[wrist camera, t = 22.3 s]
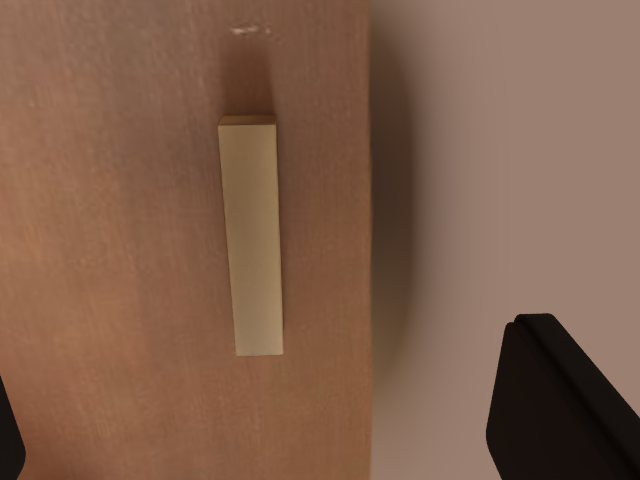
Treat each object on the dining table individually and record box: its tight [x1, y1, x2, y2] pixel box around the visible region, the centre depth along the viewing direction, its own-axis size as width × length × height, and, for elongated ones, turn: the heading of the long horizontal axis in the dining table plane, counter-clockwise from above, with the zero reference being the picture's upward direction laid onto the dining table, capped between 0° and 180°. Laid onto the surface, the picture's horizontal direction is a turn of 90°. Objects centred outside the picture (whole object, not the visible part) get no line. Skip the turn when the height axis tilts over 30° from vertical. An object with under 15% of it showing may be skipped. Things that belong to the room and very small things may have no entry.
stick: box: [217, 115, 284, 356], centre depth 25 cm, size 2×12×2 cm, turn 0°
